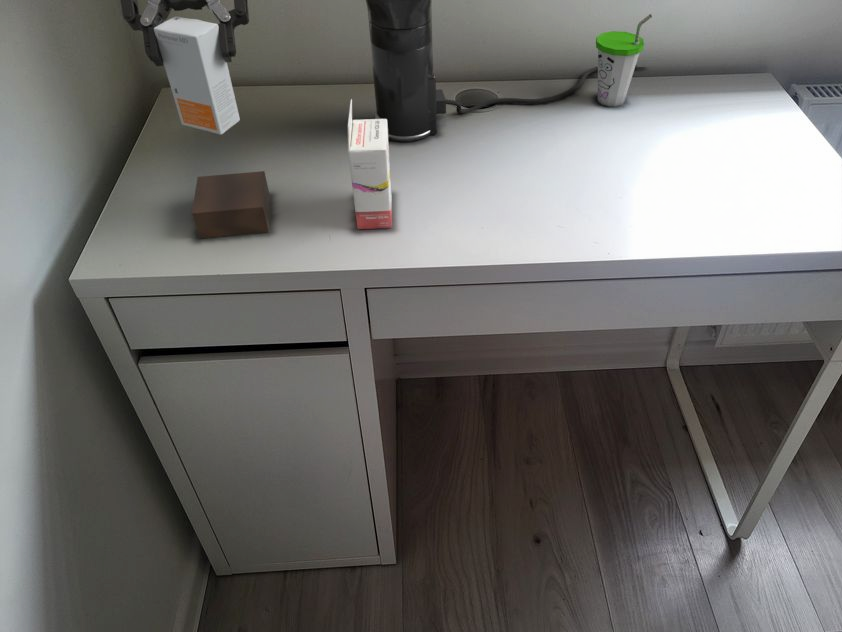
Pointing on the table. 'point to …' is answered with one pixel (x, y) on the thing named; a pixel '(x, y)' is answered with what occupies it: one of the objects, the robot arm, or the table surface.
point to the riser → (231, 204)
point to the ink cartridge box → (370, 171)
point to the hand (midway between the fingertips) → (192, 61)
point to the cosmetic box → (197, 74)
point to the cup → (617, 63)
